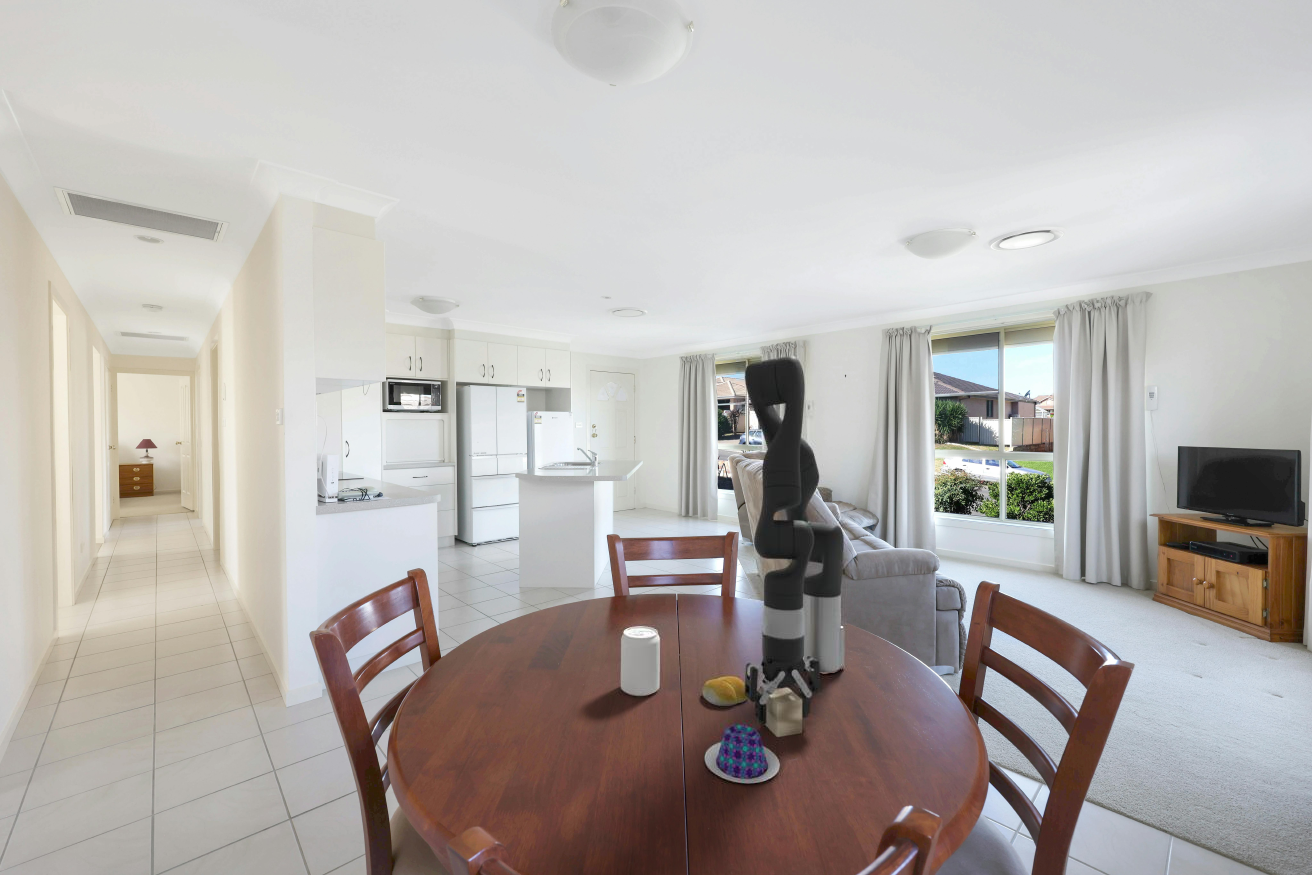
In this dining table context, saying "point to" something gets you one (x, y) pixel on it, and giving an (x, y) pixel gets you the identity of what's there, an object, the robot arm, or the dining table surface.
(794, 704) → the beech block
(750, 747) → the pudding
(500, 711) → the dining table surface
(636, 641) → the beverage can
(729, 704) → the bread roll
